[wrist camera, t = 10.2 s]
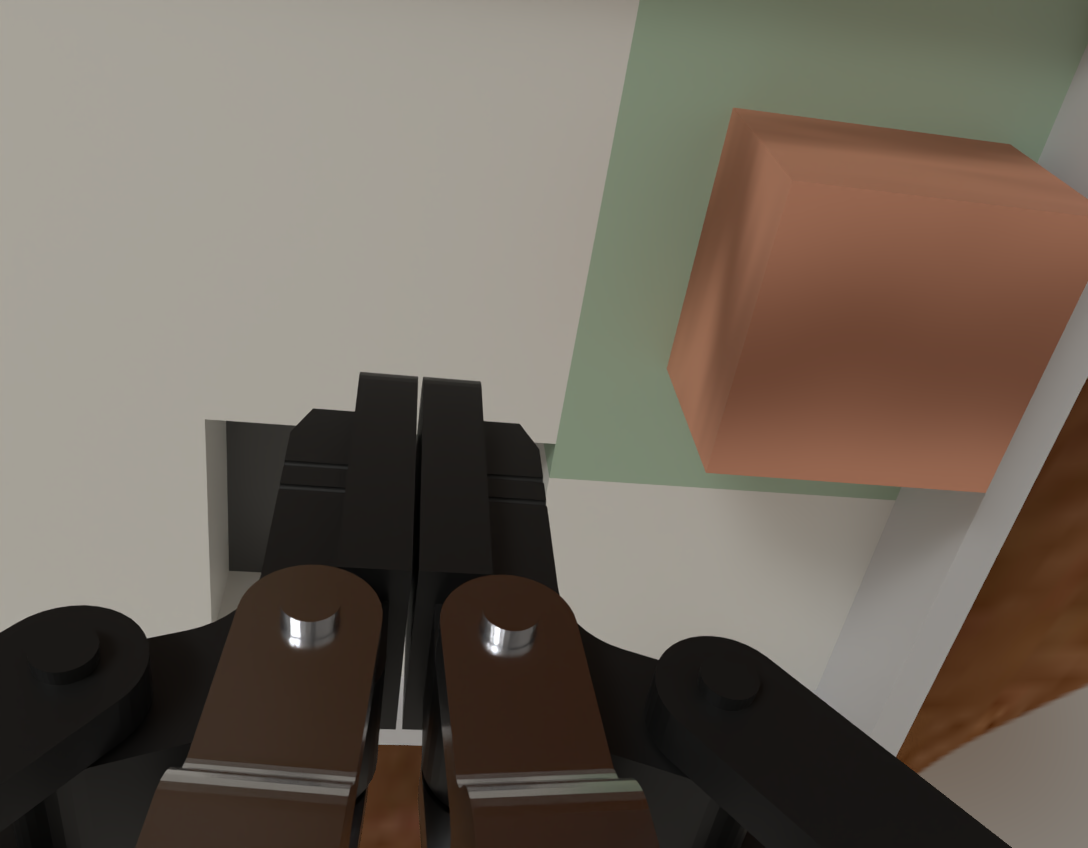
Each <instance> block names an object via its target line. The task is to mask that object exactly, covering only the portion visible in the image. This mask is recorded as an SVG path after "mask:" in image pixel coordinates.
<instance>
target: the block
mask: <svg viewBox="0 0 1088 848" xmlns="http://www.w3.org/2000/svg"><path fill="white" fill-rule="evenodd" d="M1087 282H1088V199H1087V198H1086V197H1084V196H1083V195H1081V194H1080V193H1078V192H1077V191H1076V190H1074V189H1073V188H1071V187H1070V186H1069V185H1067V184H1066V183H1064V182H1063V181H1062V180H1060V179H1059V178H1057V177H1056V176H1054V175H1053V174H1052V173H1050V172H1049V171H1047V170H1046V169H1045V168H1043V167H1042V166H1040V165H1039V164H1038V163H1036V162H1035V161H1033V160H1032V159H1030V158H1029V157H1028V156H1026V155H1025V154H1023V153H1022V152H1021V151H1019V150H1018V149H1016V148H1015V147H1013V146H1012V145H1011V144H1005V143H997V142H990V141H982V140H975V139H967V138H959V137H952V136H944V135H937V134H929V133H922V132H914V131H907V130H899V129H892V128H884V127H877V126H869V125H862V124H854V123H846V122H839V121H831V120H824V119H816V118H809V117H801V116H794V115H786V114H779V113H771V112H764V111H756V110H749V109H741V108H733V109H732V113H731V117H730V121H729V125H728V129H727V133H726V137H725V141H724V145H723V149H722V153H721V157H720V161H719V164H718V168H717V172H716V176H715V180H714V184H713V188H712V192H711V196H710V200H709V204H708V208H707V212H706V216H705V220H704V224H703V228H702V231H701V235H700V239H699V243H698V247H697V251H696V255H695V259H694V263H693V267H692V271H691V275H690V279H689V283H688V287H687V291H686V295H685V299H684V302H683V306H682V310H681V314H680V318H679V322H678V326H677V330H676V334H675V338H674V342H673V346H672V350H671V354H670V358H669V362H668V366H667V371H668V374H669V376H670V379H671V382H672V384H673V387H674V390H675V392H676V395H677V398H678V400H679V403H680V406H681V408H682V411H683V413H684V416H685V419H686V421H687V424H688V427H689V429H690V432H691V435H692V437H693V440H694V443H695V445H696V448H697V451H698V453H699V456H700V459H701V461H702V464H703V466H704V469H705V472H706V473H715V474H729V475H743V476H756V477H770V478H784V479H798V480H812V481H826V482H840V483H854V484H868V485H882V486H896V487H909V488H923V489H937V490H951V491H965V492H979V493H986V491H987V489H988V487H989V485H990V483H991V481H992V479H993V477H994V475H995V472H996V470H997V468H998V466H999V464H1000V462H1001V460H1002V458H1003V456H1004V454H1005V452H1006V450H1007V448H1008V446H1009V443H1010V441H1011V439H1012V437H1013V435H1014V433H1015V431H1016V429H1017V427H1018V425H1019V423H1020V421H1021V419H1022V417H1023V414H1024V412H1025V410H1026V408H1027V406H1028V404H1029V402H1030V400H1031V398H1032V396H1033V394H1034V392H1035V390H1036V388H1037V385H1038V383H1039V381H1040V379H1041V377H1042V375H1043V373H1044V371H1045V369H1046V367H1047V365H1048V363H1049V361H1050V359H1051V356H1052V354H1053V352H1054V350H1055V348H1056V346H1057V344H1058V342H1059V340H1060V338H1061V336H1062V334H1063V332H1064V330H1065V327H1066V325H1067V323H1068V321H1069V319H1070V317H1071V315H1072V313H1073V311H1074V309H1075V307H1076V305H1077V303H1078V301H1079V298H1080V296H1081V294H1082V292H1083V290H1084V288H1085V286H1086V284H1087Z"/></svg>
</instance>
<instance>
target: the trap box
mask: <svg viewBox="0 0 1088 848" xmlns="http://www.w3.org/2000/svg"><path fill="white" fill-rule="evenodd" d="M733 108H741V109H749V110H756V111H764V112H771V113H779V114H786V115H794V116H801V117H809V118H816V119H824V120H831V121H839V122H846V123H854V124H862V125H869V126H877V127H884V128H892V129H899V130H907V131H914V132H922V133H929V134H937V135H944V136H952V137H959V138H967V139H975V140H982V141H990V142H997V143H1005V144H1011V145H1012V146H1013V147H1015V148H1016V149H1018V150H1019V151H1021V152H1022V153H1023V154H1025V155H1026V156H1028V157H1029V158H1030V159H1032V160H1033V161H1035V162H1036V163H1038V164H1039V165H1040V166H1042V167H1043V168H1045V169H1046V170H1047V171H1049V172H1050V173H1052V174H1053V175H1054V176H1056V177H1057V178H1059V179H1060V180H1062V181H1063V182H1064V183H1066V184H1067V185H1069V186H1070V187H1071V188H1073V189H1074V190H1076V191H1077V192H1078V193H1080V194H1081V195H1083V196H1084V197H1086V198H1087V199H1088V0H0V632H2V631H4V630H5V629H7V628H9V627H10V626H12V625H14V624H15V623H17V622H19V621H21V620H23V619H25V618H27V617H29V616H32V615H34V614H37V613H40V612H42V611H46V610H50V609H54V608H58V607H65V606H75V605H89V606H99V607H104V608H108V609H112V610H115V611H117V612H120V613H122V614H124V615H126V616H128V617H129V618H131V619H132V620H133V621H135V622H136V623H137V624H138V625H139V626H140V627H141V629H142V630H143V632H144V633H145V635H146V638H151V637H156V636H161V635H166V634H171V633H176V632H181V631H186V630H190V629H194V628H198V627H202V626H204V625H207V624H210V623H212V622H215V621H217V620H219V619H221V618H223V617H225V616H227V615H228V614H230V613H231V612H233V611H234V610H236V609H237V607H238V604H239V602H240V600H241V598H242V596H243V595H244V594H245V592H246V591H247V590H248V589H249V588H250V587H251V586H252V585H253V584H254V583H255V582H257V581H258V580H259V579H260V576H261V572H262V567H263V562H264V557H265V552H266V547H267V542H268V538H269V533H270V528H271V523H272V518H273V513H274V509H275V504H276V499H277V494H278V489H279V487H280V479H281V475H282V470H283V466H284V460H285V455H286V450H287V445H288V441H289V436H290V432H291V431H292V430H293V429H294V427H295V426H296V425H297V424H298V423H299V422H300V421H301V420H302V419H303V418H304V417H305V416H306V415H307V414H308V413H309V412H310V411H311V410H312V409H313V408H315V409H328V410H341V411H355V406H356V398H357V390H358V381H359V374H360V372H370V373H382V374H395V375H407V376H418V401H417V429H418V418H419V408H420V398H421V388H422V380H423V377H434V378H447V379H459V380H471V381H480V382H481V387H482V403H483V419H484V421H490V422H504V423H517V424H520V425H521V426H522V427H523V429H524V430H525V431H526V433H527V434H528V435H529V436H530V438H531V439H532V440H533V442H534V443H535V444H536V446H537V447H538V448H539V450H540V457H541V464H542V472H543V483H544V487H545V494H546V506H547V509H548V516H549V524H550V531H551V539H552V546H553V554H554V561H555V568H556V576H557V583H558V590H559V594H560V596H561V597H562V598H563V599H564V600H565V601H566V603H567V604H568V605H569V606H570V608H571V610H572V611H573V613H574V615H575V618H576V621H577V623H578V624H579V625H580V626H581V627H582V628H584V629H585V630H586V631H587V632H589V633H590V634H592V635H593V636H595V637H596V638H598V639H600V640H602V641H604V642H606V643H608V644H610V645H613V646H616V647H619V648H621V649H624V650H628V651H631V652H634V653H638V654H641V655H644V656H647V657H651V658H654V659H657V660H659V659H660V657H661V656H662V654H663V653H664V652H665V651H666V650H667V649H668V648H669V647H670V646H672V645H673V644H675V643H677V642H679V641H681V640H684V639H687V638H690V637H697V636H716V637H724V638H728V639H732V640H735V641H738V642H741V643H743V644H746V645H748V646H750V647H752V648H754V649H756V650H758V651H759V652H761V653H762V654H763V655H765V656H766V657H768V658H769V659H770V660H772V661H773V662H774V663H776V664H777V665H778V666H779V667H781V668H782V669H783V670H785V671H786V672H787V673H788V674H790V675H791V676H792V677H793V678H795V679H796V680H797V681H799V682H800V683H801V684H802V685H804V686H805V687H806V688H808V689H809V690H810V691H811V692H813V693H814V694H815V695H817V696H818V697H819V698H820V699H822V700H823V701H824V702H826V703H827V704H828V705H829V706H831V707H832V708H833V709H835V710H836V711H837V712H838V713H840V714H841V715H842V716H844V717H845V718H846V719H847V720H849V721H850V722H851V723H853V724H854V725H855V726H856V727H858V728H859V729H860V730H862V731H863V732H864V733H865V734H867V735H868V736H869V737H870V738H872V739H873V740H874V741H876V742H877V743H878V744H879V745H881V746H882V747H883V748H885V749H886V750H887V751H888V752H890V753H891V754H892V755H894V756H895V757H896V755H897V753H898V751H899V749H900V747H901V745H902V743H903V742H904V740H905V738H906V736H907V734H908V732H909V730H910V728H911V726H912V724H913V722H914V720H915V718H916V716H917V714H918V712H919V710H920V708H921V706H922V704H923V702H924V700H925V698H926V696H927V694H928V692H929V690H930V688H931V686H932V684H933V682H934V680H935V678H936V676H937V674H938V672H939V670H940V668H941V666H942V664H943V662H944V660H945V658H946V656H947V654H948V652H949V650H950V648H951V646H952V644H953V642H954V640H955V638H956V637H957V635H958V633H959V631H960V629H961V627H962V625H963V623H964V621H965V619H966V617H967V615H968V613H969V611H970V609H971V607H972V605H973V603H974V601H975V599H976V597H977V595H978V593H979V591H980V589H981V587H982V585H983V583H984V581H985V579H986V577H987V575H988V573H989V571H990V569H991V567H992V565H993V563H994V561H995V559H996V557H997V555H998V553H999V551H1000V549H1001V547H1002V545H1003V543H1004V541H1005V539H1006V537H1007V535H1008V533H1009V532H1010V530H1011V528H1012V526H1013V524H1014V522H1015V520H1016V518H1017V516H1018V514H1019V512H1020V510H1021V508H1022V506H1023V504H1024V502H1025V500H1026V498H1027V496H1028V494H1029V492H1030V490H1031V488H1032V486H1033V484H1034V482H1035V480H1036V478H1037V476H1038V474H1039V472H1040V470H1041V468H1042V466H1043V464H1044V462H1045V460H1046V458H1047V456H1048V454H1049V452H1050V450H1051V448H1052V446H1053V444H1054V442H1055V440H1056V438H1057V436H1058V434H1059V432H1060V430H1061V428H1062V427H1063V425H1064V423H1065V421H1066V419H1067V417H1068V415H1069V413H1070V411H1071V409H1072V407H1073V405H1074V403H1075V401H1076V399H1077V397H1078V395H1079V393H1080V391H1081V389H1082V387H1083V385H1084V383H1085V381H1086V379H1087V377H1088V282H1087V284H1086V286H1085V288H1084V290H1083V292H1082V294H1081V296H1080V298H1079V301H1078V303H1077V305H1076V307H1075V309H1074V311H1073V313H1072V315H1071V317H1070V319H1069V321H1068V323H1067V325H1066V327H1065V330H1064V332H1063V334H1062V336H1061V338H1060V340H1059V342H1058V344H1057V346H1056V348H1055V350H1054V352H1053V354H1052V356H1051V359H1050V361H1049V363H1048V365H1047V367H1046V369H1045V371H1044V373H1043V375H1042V377H1041V379H1040V381H1039V383H1038V385H1037V388H1036V390H1035V392H1034V394H1033V396H1032V398H1031V400H1030V402H1029V404H1028V406H1027V408H1026V410H1025V412H1024V414H1023V417H1022V419H1021V421H1020V423H1019V425H1018V427H1017V429H1016V431H1015V433H1014V435H1013V437H1012V439H1011V441H1010V443H1009V446H1008V448H1007V450H1006V452H1005V454H1004V456H1003V458H1002V460H1001V462H1000V464H999V466H998V468H997V470H996V472H995V475H994V477H993V479H992V481H991V483H990V485H989V487H988V489H987V491H986V493H979V492H965V491H951V490H937V489H923V488H909V487H896V486H882V485H868V484H854V483H840V482H826V481H812V480H798V479H784V478H770V477H756V476H743V475H729V474H715V473H706V472H705V469H704V466H703V464H702V461H701V459H700V456H699V453H698V451H697V448H696V445H695V443H694V440H693V437H692V435H691V432H690V429H689V427H688V424H687V421H686V419H685V416H684V413H683V411H682V408H681V406H680V403H679V400H678V398H677V395H676V392H675V390H674V387H673V384H672V382H671V379H670V376H669V374H668V371H667V366H668V362H669V358H670V354H671V350H672V346H673V342H674V338H675V334H676V330H677V326H678V322H679V318H680V314H681V310H682V306H683V302H684V299H685V295H686V291H687V287H688V283H689V279H690V275H691V271H692V267H693V263H694V259H695V255H696V251H697V247H698V243H699V239H700V235H701V231H702V228H703V224H704V220H705V216H706V212H707V208H708V204H709V200H710V196H711V192H712V188H713V184H714V180H715V176H716V172H717V168H718V164H719V161H720V157H721V153H722V149H723V145H724V141H725V137H726V133H727V129H728V125H729V121H730V117H731V113H732V109H733ZM416 439H417V432H416ZM404 661H405V644H404V654H403V664H402V674H401V683H400V693H399V703H398V713H397V722H396V730H393V729H380V732H379V743H378V744H379V745H422V730H406V729H402V715H403V688H404Z"/></svg>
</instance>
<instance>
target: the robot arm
mask: <svg viewBox="0 0 1088 848" xmlns="http://www.w3.org/2000/svg"><path fill="white" fill-rule="evenodd" d="M417 401H418V376H407V375H395V374H382V373H370V372H360V374H359V381H358V390H357V398H356V406H355V411H341V410H328V409H315V408H313V409H312V410H311V411H310V412H309V413H308V414H307V415H306V416H305V417H304V418H303V419H302V420H301V421H300V422H299V423H298V424H297V425H296V426H295V427H294V429H293V430H292V431H291V432H290V436H289V441H288V445H287V450H286V455H285V460H284V466H283V470H282V475H281V479H280V487H279V489H278V494H277V499H276V504H275V509H274V513H273V518H272V523H271V528H270V533H269V538H268V542H267V547H266V552H265V557H264V562H263V567H262V572H261V576H260V579H259V580H258V581H257V582H255V583H254V584H253V585H252V586H251V587H250V588H249V589H248V590H247V591H246V592H245V594H244V595H243V596H242V598H241V600H240V602H239V604H238V607H237V609H236V610H234V611H233V612H231V613H230V614H228V615H227V616H225V617H223V618H221V619H219V620H217V621H215V622H212V623H210V624H207V625H204V626H202V627H198V628H194V629H190V630H186V631H181V632H176V633H171V634H166V635H161V636H156V637H151V638H146V635H145V633H144V632H143V630H142V629H141V627H140V626H139V625H138V624H137V623H136V622H135V621H133V620H132V619H131V618H129V617H128V616H126V615H124V614H122V613H120V612H117V611H115V610H112V609H108V608H104V607H99V606H89V605H75V606H65V607H58V608H54V609H50V610H46V611H42V612H40V613H37V614H34V615H32V616H29V617H27V618H25V619H23V620H21V621H19V622H17V623H15V624H14V625H12V626H10V627H9V628H7V629H5V630H4V631H2V632H0V848H360V842H361V835H362V829H363V822H364V816H365V809H366V803H367V796H368V785H369V783H370V781H371V780H372V778H373V775H374V772H375V769H376V763H377V754H378V743H379V732H380V729H393V730H396V722H397V713H398V703H399V693H400V683H401V674H402V664H403V654H404V644H405V661H404V688H403V715H402V729H406V730H422V761H421V769H420V777H419V785H418V810H419V825H420V840H421V848H1012V847H1010V846H1009V845H1008V844H1007V843H1005V842H1004V841H1003V840H1001V839H1000V838H999V837H998V836H996V835H995V834H994V833H992V832H991V831H990V830H989V829H987V828H986V827H985V826H983V825H982V824H981V823H980V822H978V821H977V820H976V819H974V818H973V817H972V816H971V815H969V814H968V813H967V812H965V811H964V810H963V809H962V808H960V807H959V806H958V805H956V804H955V803H954V802H953V801H951V800H950V799H949V798H947V797H946V796H945V795H944V794H942V793H941V792H940V791H939V790H937V789H936V788H935V787H933V786H932V785H931V784H930V783H928V782H927V781H925V780H924V779H923V778H922V777H920V776H919V775H918V774H917V773H915V772H914V771H913V770H912V769H910V768H909V767H908V766H906V765H905V764H904V763H903V762H901V761H900V760H899V759H897V758H896V757H895V756H894V755H892V754H891V753H890V752H888V751H887V750H886V749H885V748H883V747H882V746H881V745H879V744H878V743H877V742H876V741H874V740H873V739H872V738H870V737H869V736H868V735H867V734H865V733H864V732H863V731H862V730H860V729H859V728H858V727H856V726H855V725H854V724H853V723H851V722H850V721H849V720H847V719H846V718H845V717H844V716H842V715H841V714H840V713H838V712H837V711H836V710H835V709H833V708H832V707H831V706H829V705H828V704H827V703H826V702H824V701H823V700H822V699H820V698H819V697H818V696H817V695H815V694H814V693H813V692H811V691H810V690H809V689H808V688H806V687H805V686H804V685H802V684H801V683H800V682H799V681H797V680H796V679H795V678H793V677H792V676H791V675H790V674H788V673H787V672H786V671H785V670H783V669H782V668H781V667H779V666H778V665H777V664H776V663H774V662H773V661H772V660H770V659H769V658H768V657H766V656H765V655H763V654H762V653H761V652H759V651H758V650H756V649H754V648H752V647H750V646H748V645H746V644H743V643H741V642H738V641H735V640H732V639H728V638H724V637H716V636H697V637H690V638H687V639H684V640H681V641H679V642H677V643H675V644H673V645H672V646H670V647H669V648H668V649H667V650H666V651H665V652H664V653H663V654H662V656H661V657H660V659H659V660H657V659H654V658H651V657H647V656H644V655H641V654H638V653H634V652H631V651H628V650H624V649H621V648H619V647H616V646H613V645H610V644H608V643H606V642H604V641H602V640H600V639H598V638H596V637H595V636H593V635H592V634H590V633H589V632H587V631H586V630H585V629H584V628H582V627H581V626H580V625H579V624H578V623H577V621H576V618H575V615H574V613H573V611H572V610H571V608H570V606H569V605H568V604H567V603H566V601H565V600H564V599H563V598H562V597H561V596H560V594H559V590H558V583H557V576H556V568H555V561H554V554H553V546H552V539H551V531H550V524H549V516H548V509H547V506H546V494H545V487H544V483H543V472H542V464H541V457H540V450H539V448H538V447H537V446H536V444H535V443H534V442H533V440H532V439H531V438H530V436H529V435H528V434H527V433H526V431H525V430H524V429H523V427H522V426H521V425H520V424H517V423H504V422H490V421H484V419H483V403H482V387H481V382H480V381H471V380H459V379H447V378H434V377H423V380H422V388H421V398H420V408H419V418H418V429H417ZM416 432H417V439H416Z"/></svg>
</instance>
